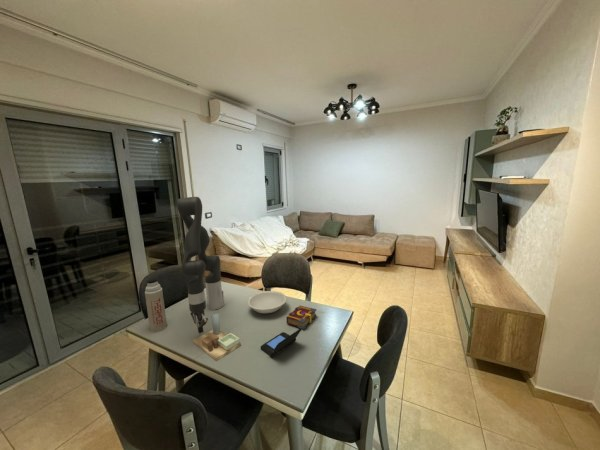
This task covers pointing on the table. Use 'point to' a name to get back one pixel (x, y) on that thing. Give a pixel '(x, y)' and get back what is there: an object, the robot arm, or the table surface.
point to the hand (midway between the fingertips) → (200, 332)
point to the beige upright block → (209, 340)
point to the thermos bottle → (155, 306)
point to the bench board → (216, 351)
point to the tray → (228, 341)
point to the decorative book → (301, 317)
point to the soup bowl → (267, 301)
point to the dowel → (216, 324)
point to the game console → (279, 343)
